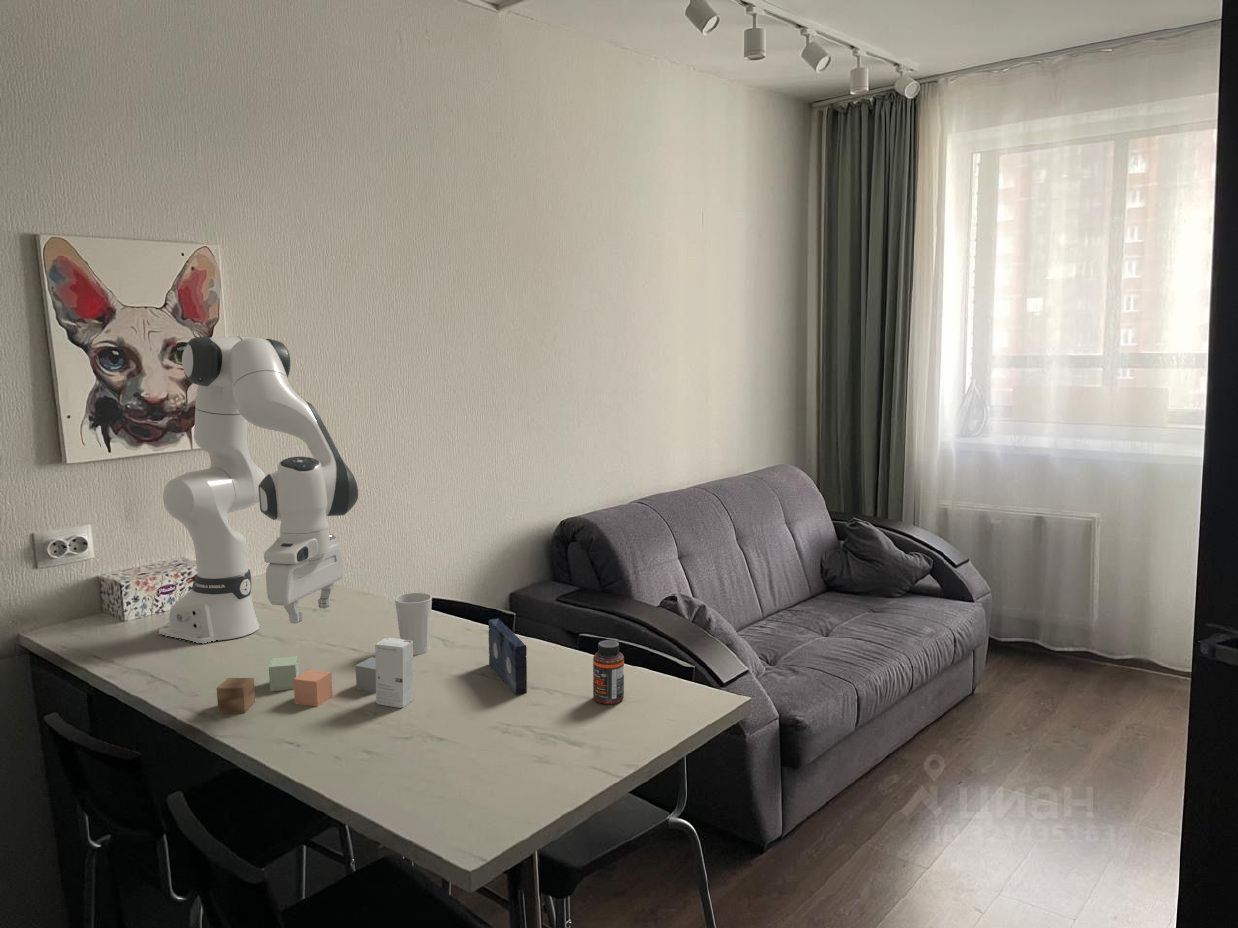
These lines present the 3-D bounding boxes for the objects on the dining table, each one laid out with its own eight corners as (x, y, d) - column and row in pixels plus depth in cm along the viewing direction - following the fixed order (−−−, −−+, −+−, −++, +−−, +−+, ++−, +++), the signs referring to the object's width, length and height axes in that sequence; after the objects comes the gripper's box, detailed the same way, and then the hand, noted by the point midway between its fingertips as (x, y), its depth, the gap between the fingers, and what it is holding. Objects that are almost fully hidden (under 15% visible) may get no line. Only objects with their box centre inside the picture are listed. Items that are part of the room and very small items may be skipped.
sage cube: (270, 691, 187) (268, 667, 186) (272, 681, 192) (271, 658, 191) (296, 688, 188) (295, 664, 187) (298, 679, 193) (297, 656, 192)
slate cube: (356, 689, 188) (355, 665, 187) (373, 680, 192) (372, 656, 191) (376, 693, 185) (375, 669, 185) (392, 684, 190) (391, 660, 189)
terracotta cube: (294, 703, 181) (293, 678, 180) (310, 693, 185) (308, 669, 185) (317, 706, 179) (316, 681, 179) (332, 696, 184) (331, 672, 183)
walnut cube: (218, 713, 176) (216, 687, 176) (229, 702, 181) (227, 677, 181) (244, 713, 176) (243, 687, 176) (255, 702, 181) (253, 677, 181)
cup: (438, 644, 213) (436, 592, 211) (427, 656, 205) (425, 603, 203) (403, 643, 214) (401, 591, 212) (392, 655, 206) (389, 602, 204)
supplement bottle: (586, 699, 182) (586, 643, 180) (607, 690, 186) (606, 635, 184) (610, 708, 178) (609, 650, 176) (630, 698, 182) (630, 642, 180)
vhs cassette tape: (527, 693, 185) (526, 645, 184) (513, 696, 184) (512, 647, 182) (502, 662, 202) (501, 617, 200) (488, 664, 201) (487, 619, 199)
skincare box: (375, 705, 180) (372, 644, 178) (387, 696, 184) (385, 636, 182) (404, 708, 178) (401, 647, 176) (416, 699, 182) (413, 639, 180)
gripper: (322, 531, 188) (326, 598, 190) (257, 555, 169) (263, 630, 171) (350, 532, 187) (354, 600, 189) (288, 557, 167) (293, 632, 169)
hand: (310, 614), depth 180 cm, fingers open, 8 cm apart
